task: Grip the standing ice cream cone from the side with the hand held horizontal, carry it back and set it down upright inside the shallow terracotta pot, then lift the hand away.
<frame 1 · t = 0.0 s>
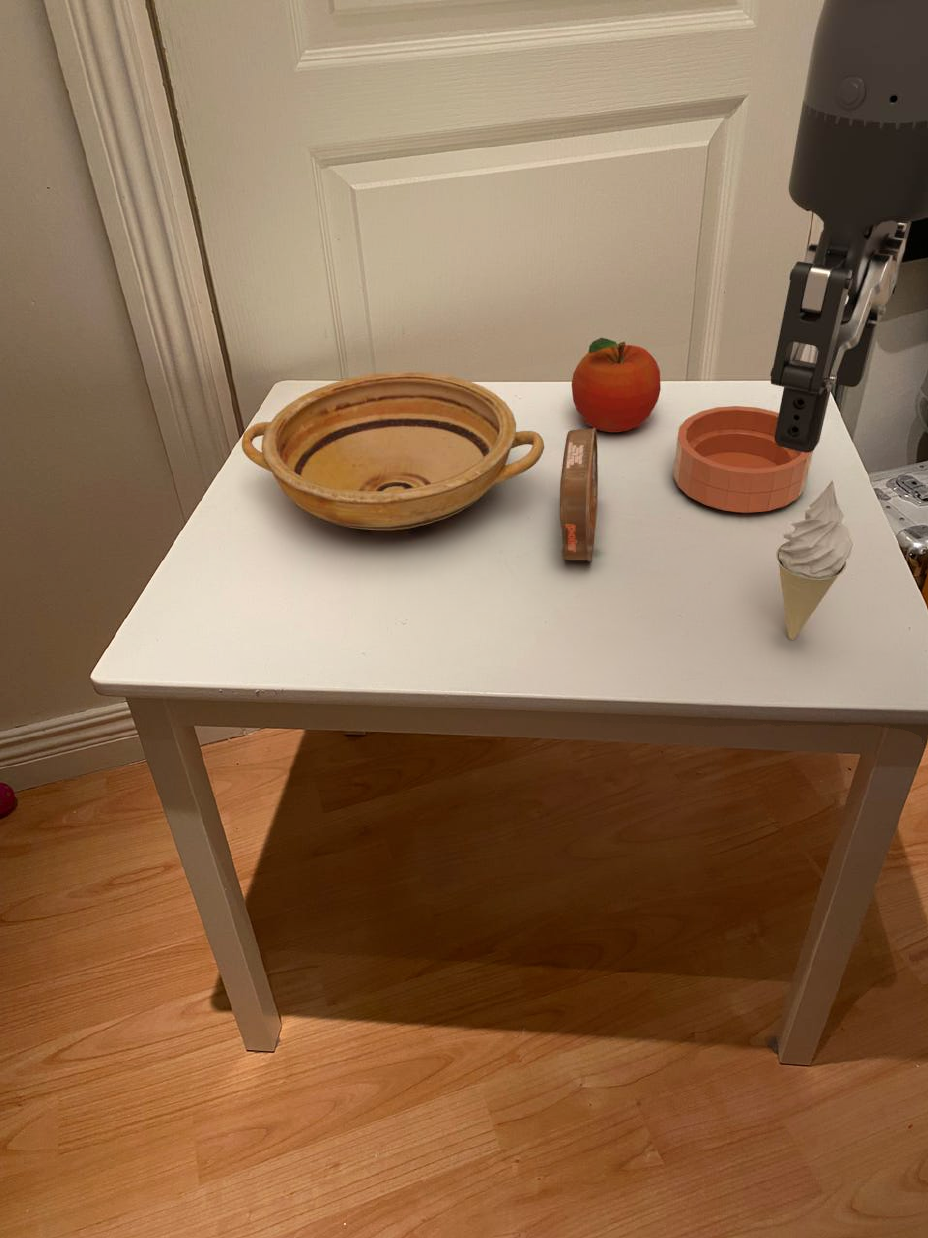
hand: (819, 412, 53), 25 cm above the table, tool pointing down, fingers open, 8 cm apart
ceramic bowl: (397, 500, 94), on the table
pot: (737, 481, 93), on the table
ice cream cone: (791, 639, 76), on the table
tin: (578, 531, 89), on the table
fruit: (613, 424, 104), on the table
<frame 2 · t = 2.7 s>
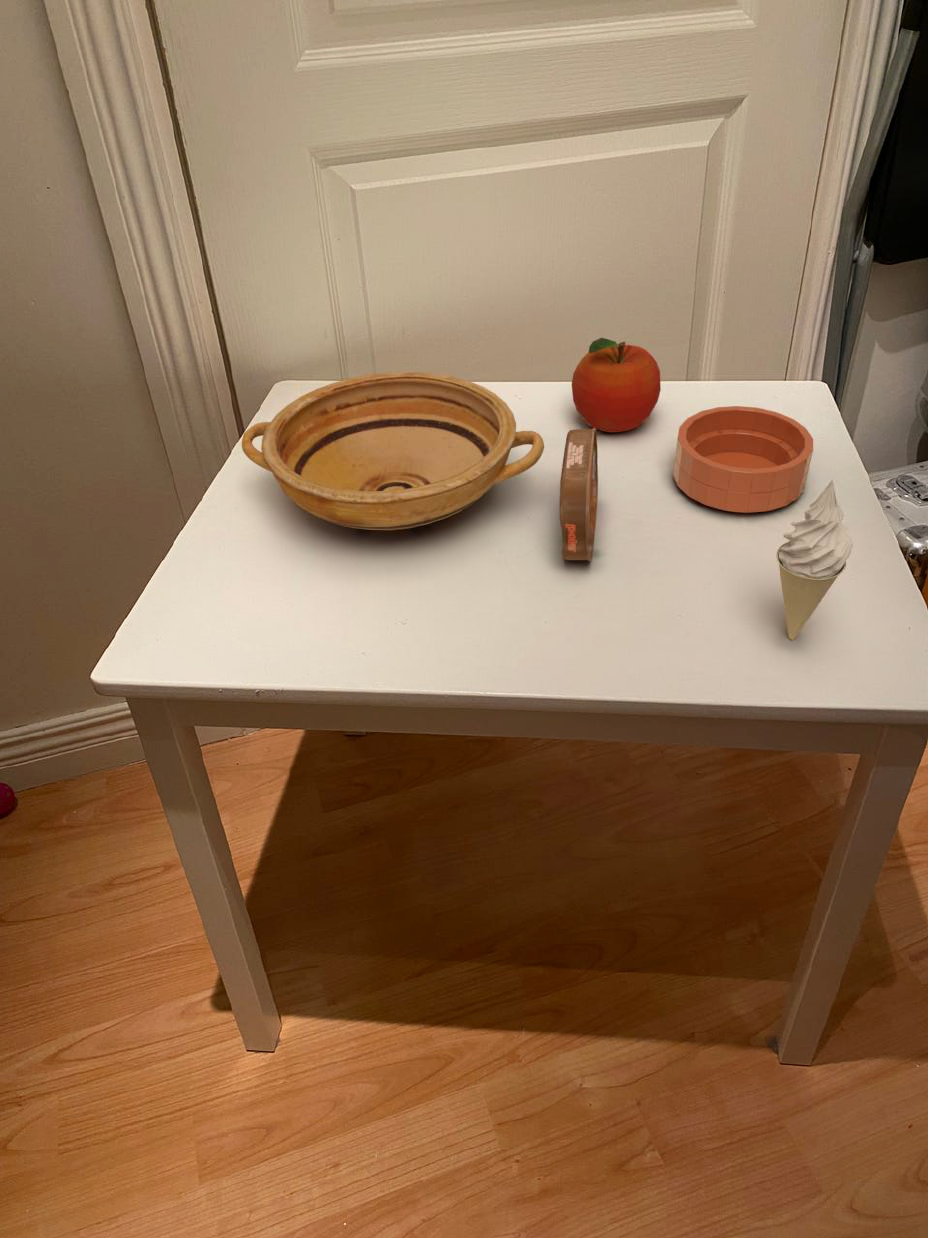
nothing on the table moved.
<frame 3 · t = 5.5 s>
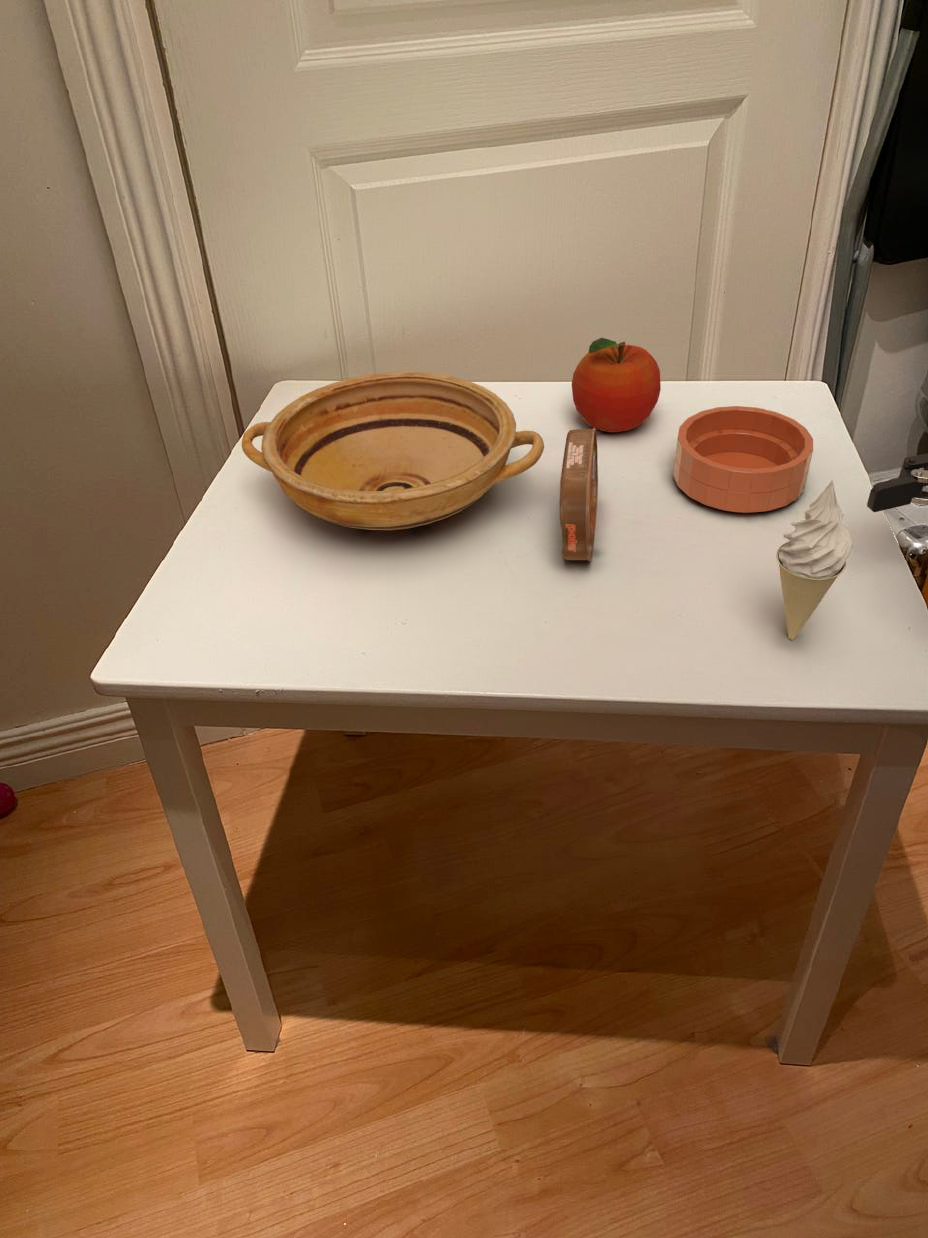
hand: (905, 528, 72), 9 cm above the table, tool horizontal, fingers open, 8 cm apart
nothing on the table moved.
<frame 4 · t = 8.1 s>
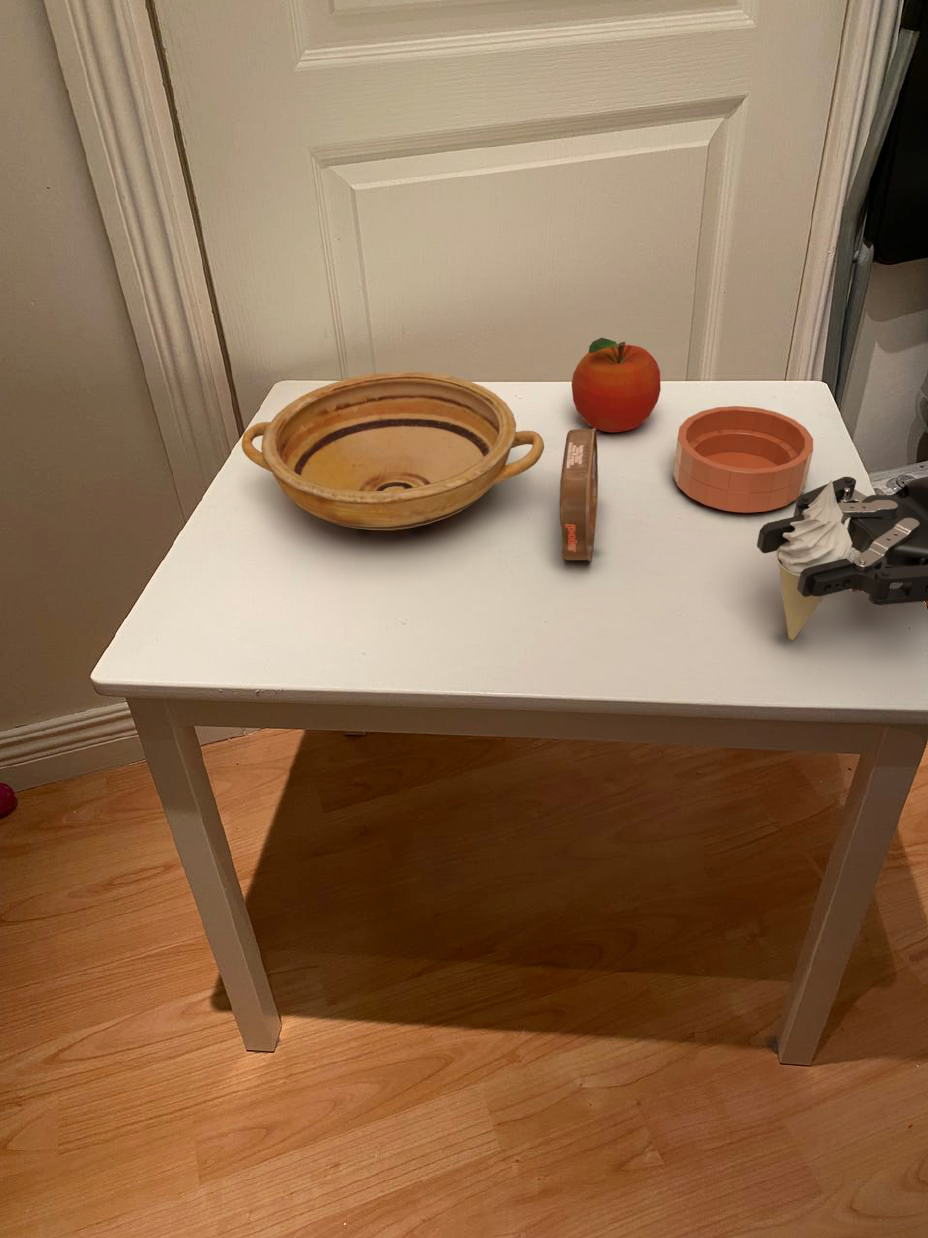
hand: (781, 561, 70), 9 cm above the table, tool horizontal, fingers closed on ice cream cone, 5 cm apart
ice cream cone: (791, 639, 76), on the table, touching gripper
everything else where it was.
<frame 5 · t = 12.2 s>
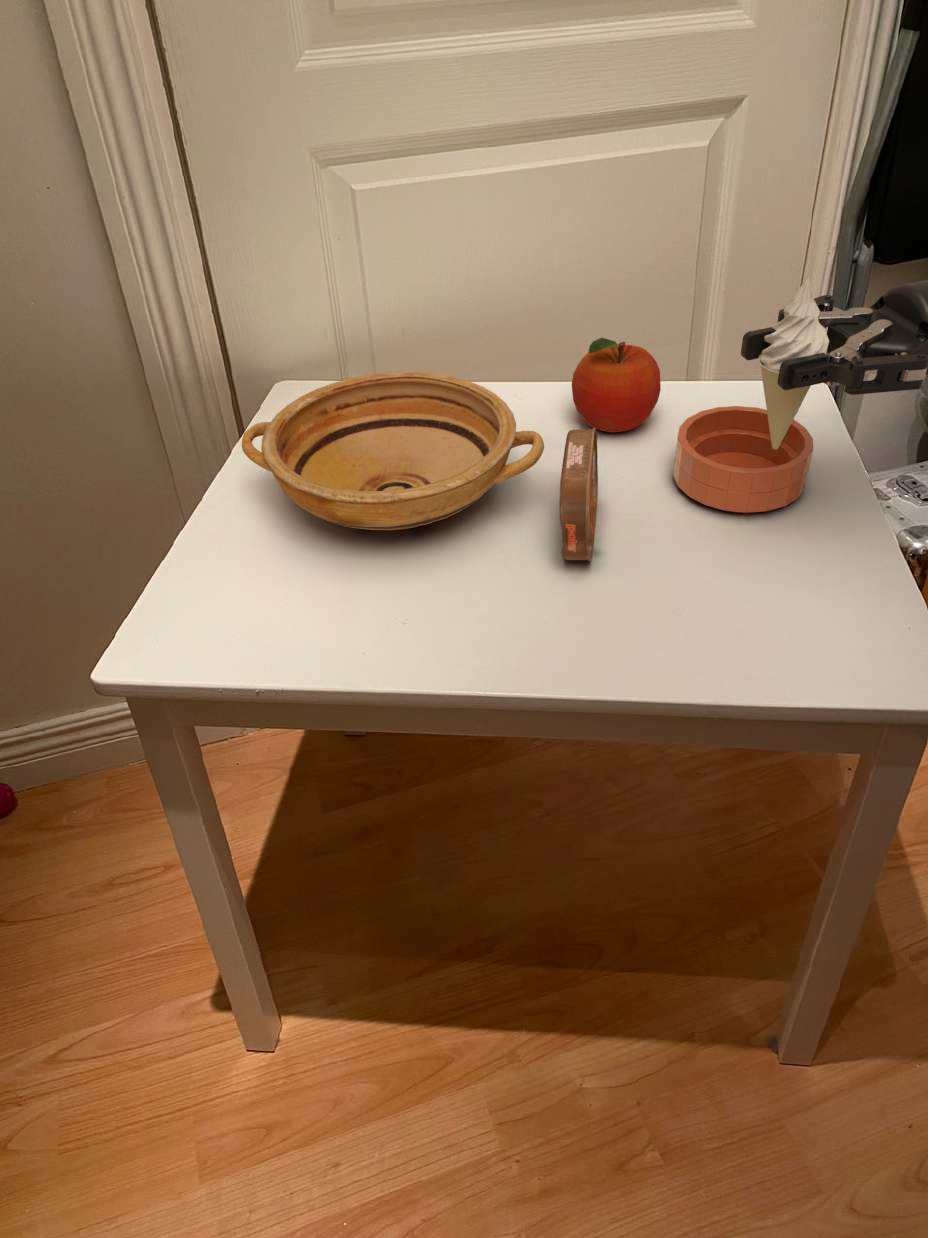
hand: (763, 361, 74), 18 cm above the table, tool horizontal, fingers closed on ice cream cone, 5 cm apart
ice cream cone: (774, 450, 81), point 9 cm above the table, touching gripper
everything else where it was.
when the fingers open (9 cm above the table, at t = 16.4 s): ice cream cone stays where it is, resting on pot.
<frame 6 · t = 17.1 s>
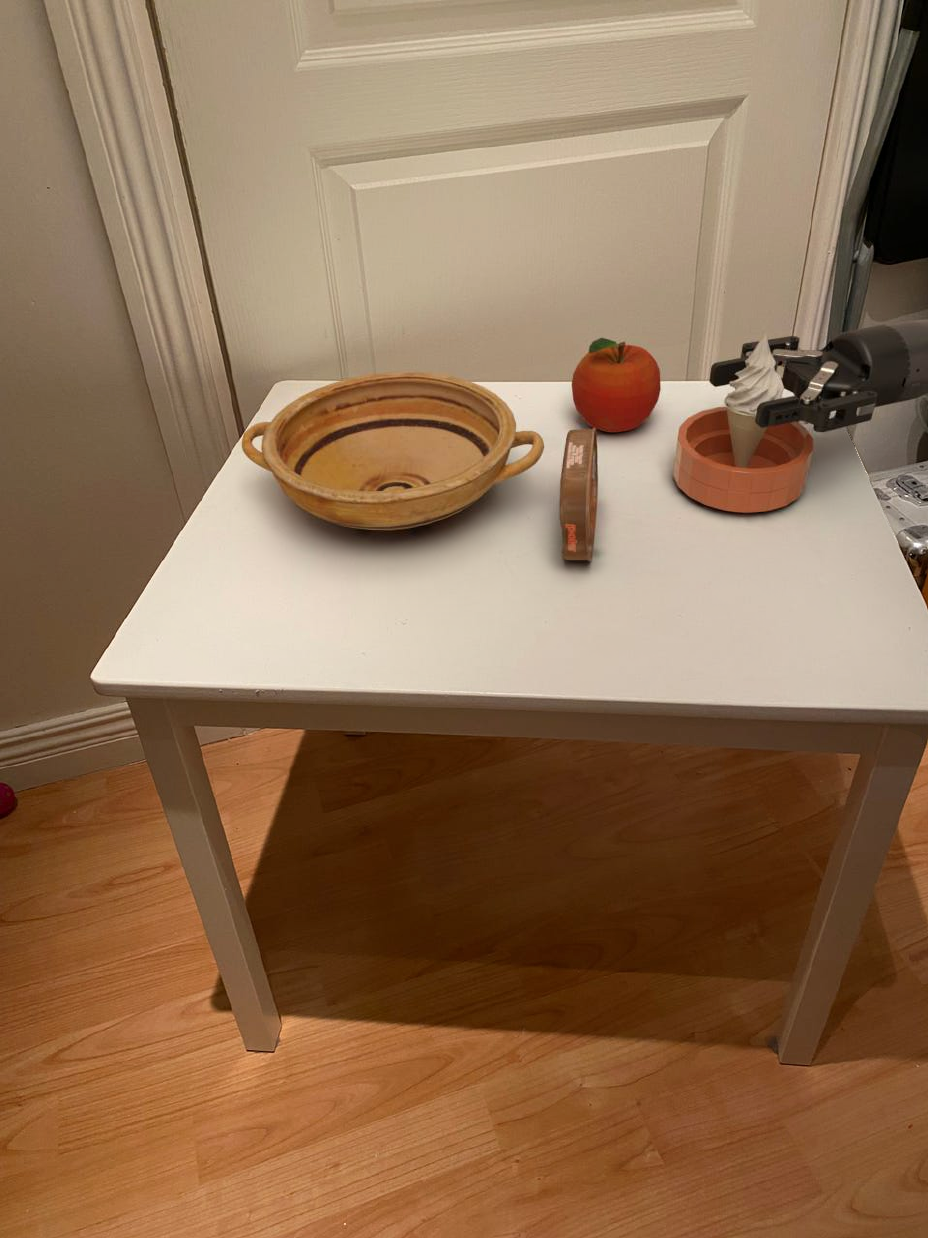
hand: (734, 395, 87), 10 cm above the table, tool horizontal, fingers open, 8 cm apart
ice cream cone: (739, 477, 93), resting on pot
everything else where it was.
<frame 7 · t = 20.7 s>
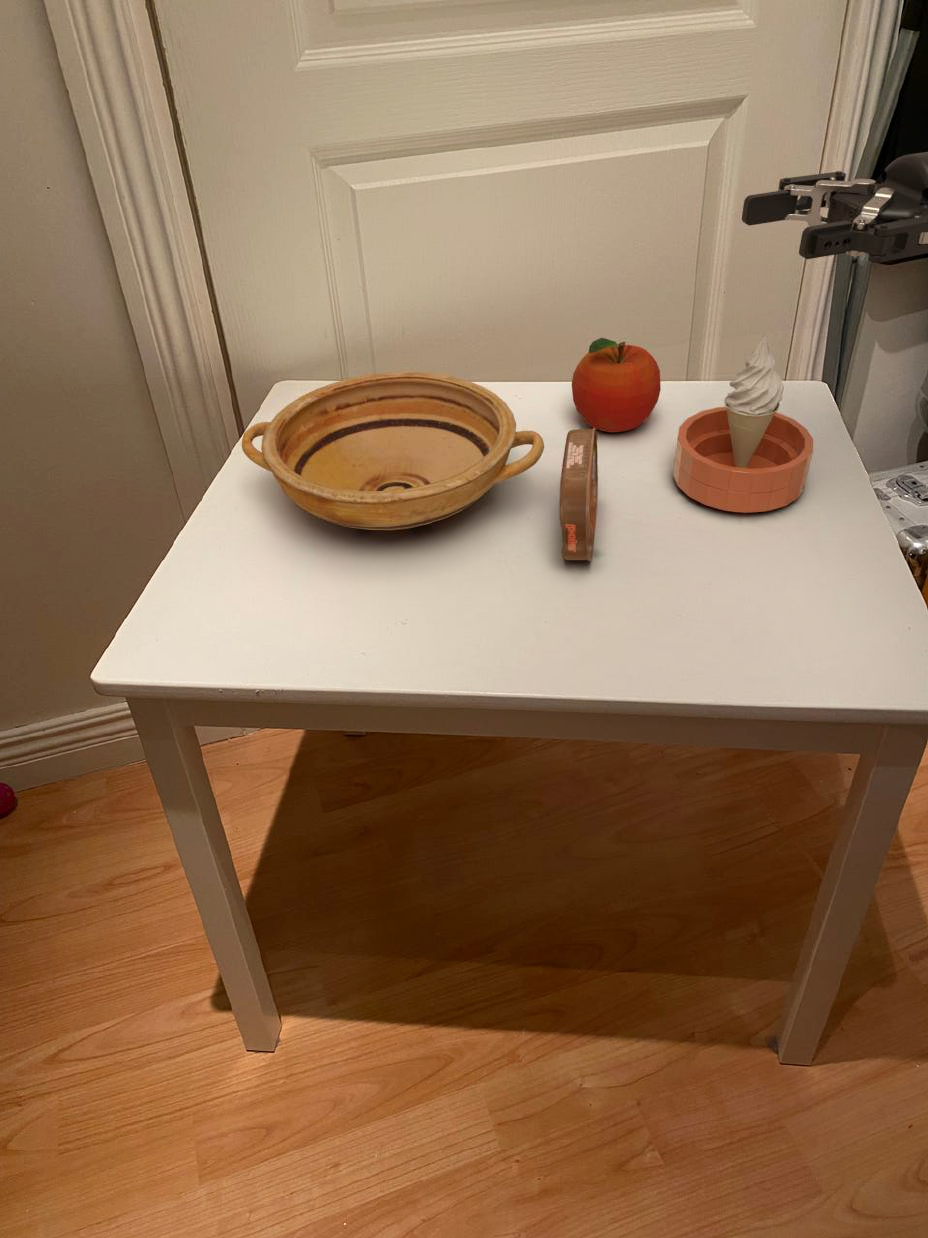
hand: (772, 226, 74), 26 cm above the table, tool horizontal, fingers open, 8 cm apart
nothing on the table moved.
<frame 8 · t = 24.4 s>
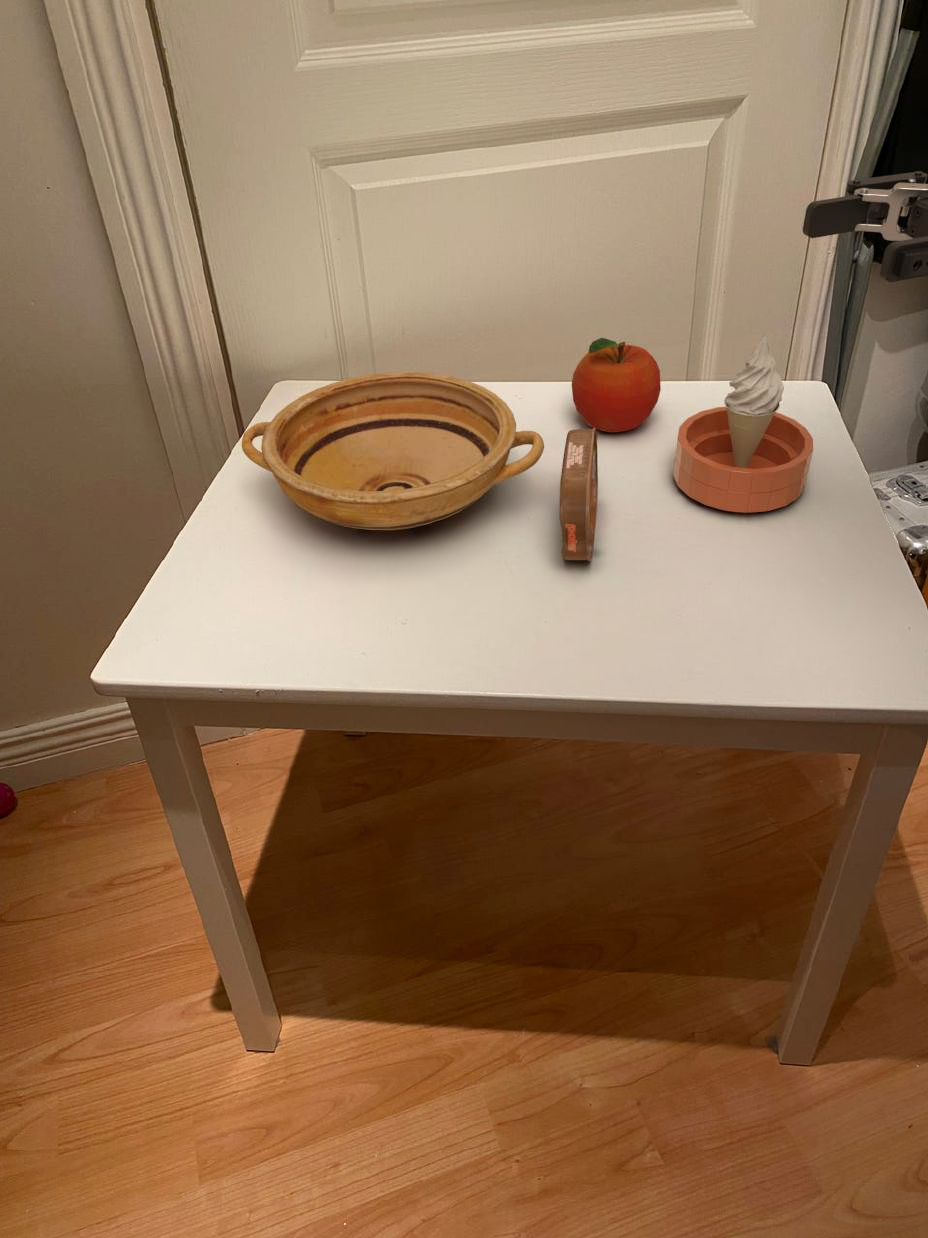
hand: (844, 241, 60), 30 cm above the table, tool horizontal, fingers open, 8 cm apart
nothing on the table moved.
at the end: ice cream cone inside the target area in the pot (0.1 cm from its centre), point 0.4 cm above the pot's base; the gripper is holding nothing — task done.
